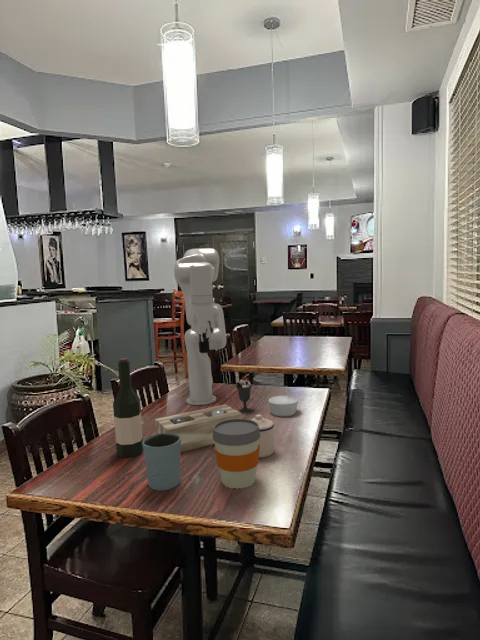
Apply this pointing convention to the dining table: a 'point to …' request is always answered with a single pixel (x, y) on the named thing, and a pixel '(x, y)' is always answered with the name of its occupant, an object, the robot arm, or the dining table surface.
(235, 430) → the reusable coffee cup
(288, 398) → the ramekin
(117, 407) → the wine bottle
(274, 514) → the dining table surface
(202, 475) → the dining table surface
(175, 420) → the graphite peg
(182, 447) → the birch block
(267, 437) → the teacup with lid
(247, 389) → the sundae
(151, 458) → the blue cup
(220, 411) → the steel peg
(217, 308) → the robot arm
